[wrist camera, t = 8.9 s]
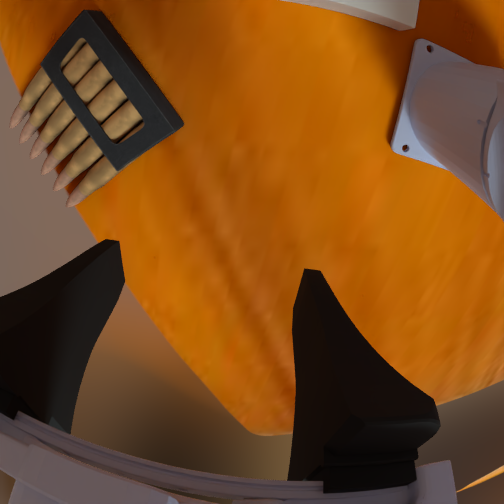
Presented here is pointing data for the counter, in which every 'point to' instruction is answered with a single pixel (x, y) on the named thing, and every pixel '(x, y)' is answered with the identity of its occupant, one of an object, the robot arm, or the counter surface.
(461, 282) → the counter surface
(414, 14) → the socket block
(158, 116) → the ammunition clip
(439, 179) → the counter surface
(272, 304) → the counter surface
